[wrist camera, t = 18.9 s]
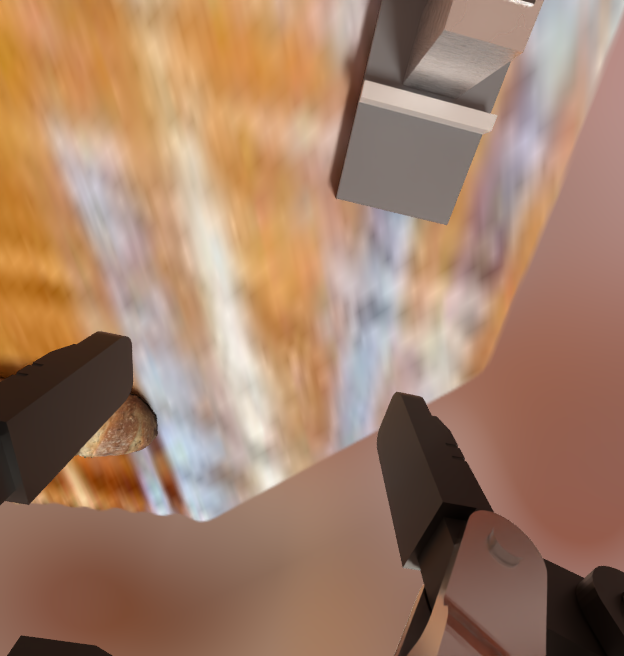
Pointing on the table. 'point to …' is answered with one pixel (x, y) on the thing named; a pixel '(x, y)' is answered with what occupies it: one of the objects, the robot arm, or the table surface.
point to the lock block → (467, 42)
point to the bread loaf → (123, 430)
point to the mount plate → (411, 128)
